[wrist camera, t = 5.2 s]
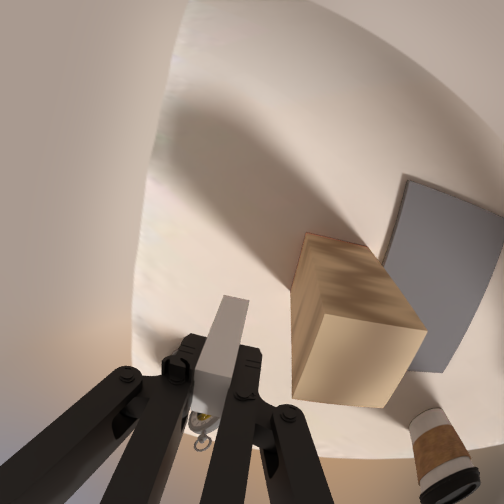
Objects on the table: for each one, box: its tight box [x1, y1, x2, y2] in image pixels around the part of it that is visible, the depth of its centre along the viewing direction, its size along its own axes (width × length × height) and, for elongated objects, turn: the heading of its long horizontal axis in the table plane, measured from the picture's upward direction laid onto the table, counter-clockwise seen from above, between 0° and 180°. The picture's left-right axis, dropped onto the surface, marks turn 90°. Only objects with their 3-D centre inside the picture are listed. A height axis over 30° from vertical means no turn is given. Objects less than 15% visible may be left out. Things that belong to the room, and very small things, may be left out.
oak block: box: [290, 232, 428, 408], centre depth 22 cm, size 6×6×14 cm
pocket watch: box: [171, 349, 221, 452], centre depth 29 cm, size 8×8×10 cm
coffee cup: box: [409, 408, 480, 504], centre depth 27 cm, size 8×8×15 cm
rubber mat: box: [382, 180, 504, 373], centre depth 28 cm, size 14×20×1 cm
